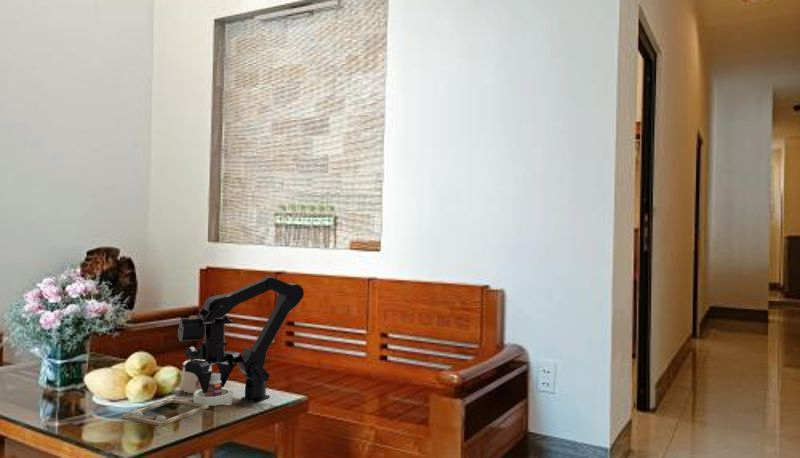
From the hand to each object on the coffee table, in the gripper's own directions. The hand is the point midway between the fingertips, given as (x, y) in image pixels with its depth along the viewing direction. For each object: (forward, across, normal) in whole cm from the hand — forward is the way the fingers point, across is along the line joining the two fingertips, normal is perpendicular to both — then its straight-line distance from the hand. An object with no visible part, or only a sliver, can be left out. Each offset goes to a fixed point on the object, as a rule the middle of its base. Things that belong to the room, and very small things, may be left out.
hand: (213, 390), depth 180 cm
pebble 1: (+3, +22, -7) cm, 23 cm away
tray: (+4, +16, -3) cm, 16 cm away
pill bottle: (+4, 0, 0) cm, 4 cm away
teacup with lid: (+5, -12, -16) cm, 20 cm away
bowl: (+4, 0, 0) cm, 4 cm away
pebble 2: (+3, +22, +1) cm, 22 cm away
